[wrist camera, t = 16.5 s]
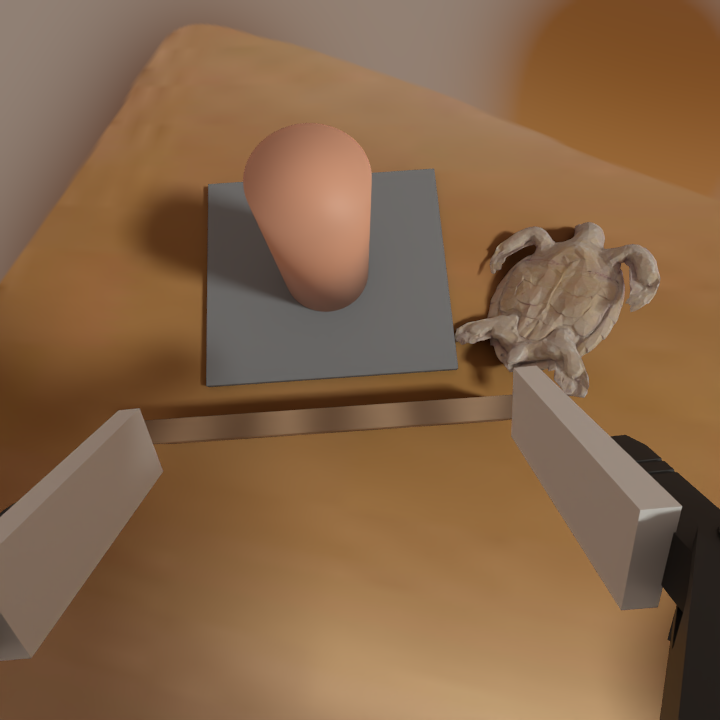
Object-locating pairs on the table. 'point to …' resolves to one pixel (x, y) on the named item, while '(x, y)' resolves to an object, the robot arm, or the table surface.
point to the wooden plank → (330, 420)
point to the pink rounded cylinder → (313, 211)
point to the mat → (335, 328)
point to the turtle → (560, 301)
